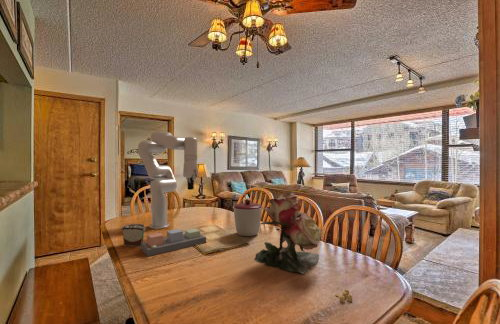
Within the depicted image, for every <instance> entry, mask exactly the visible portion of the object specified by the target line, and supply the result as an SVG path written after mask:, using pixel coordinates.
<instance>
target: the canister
mask: <svg viewBox="0 0 500 324" xmlns="http://www.w3.org/2000/svg"><path fill="white" fill-rule="evenodd" d="M232 209H233V213H234V222H235V223H234V224H235V230H236V231H235V232H236V234H238V235H239V236H242V237H254V236H256V235H258V234H259V232H260V227H261V218H262V209H264V207H263V206H262V205H261V204H259V203H255V202H252V201H251V199H250V198H246V199H245V200H244V202H240V203H236V204H235V205H233V206H232Z"/></svg>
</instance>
